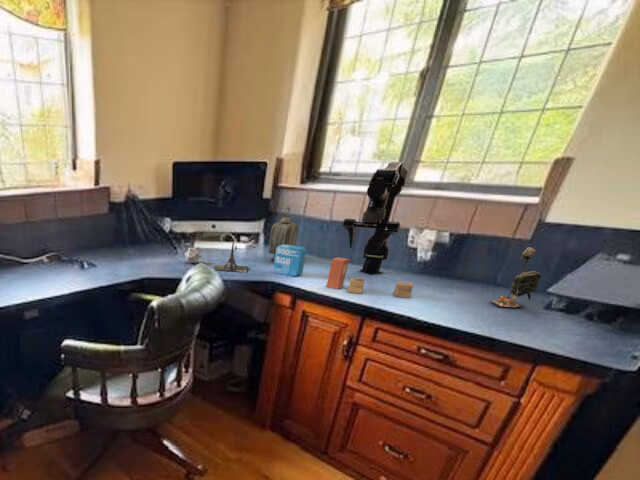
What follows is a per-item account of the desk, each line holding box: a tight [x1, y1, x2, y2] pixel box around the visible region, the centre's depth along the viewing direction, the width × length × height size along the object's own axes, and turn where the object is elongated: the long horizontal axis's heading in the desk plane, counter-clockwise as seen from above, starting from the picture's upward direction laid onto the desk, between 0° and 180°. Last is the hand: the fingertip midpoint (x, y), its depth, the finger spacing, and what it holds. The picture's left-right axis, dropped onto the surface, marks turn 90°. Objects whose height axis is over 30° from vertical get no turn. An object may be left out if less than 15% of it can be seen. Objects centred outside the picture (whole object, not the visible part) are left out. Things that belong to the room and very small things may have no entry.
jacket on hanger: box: [268, 206, 299, 262], centre depth 206 cm, size 14×9×25 cm, turn 144°
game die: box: [182, 246, 202, 265], centre depth 209 cm, size 9×8×10 cm
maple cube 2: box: [393, 280, 414, 299], centre depth 157 cm, size 5×5×5 cm
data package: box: [272, 244, 307, 277], centre depth 186 cm, size 12×4×12 cm, turn 42°
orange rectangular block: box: [326, 257, 350, 290], centre depth 167 cm, size 5×5×11 cm
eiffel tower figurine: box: [213, 241, 249, 274], centre depth 196 cm, size 15×10×13 cm
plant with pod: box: [491, 246, 542, 308], centre depth 141 cm, size 8×11×20 cm
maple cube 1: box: [347, 277, 365, 294], centre depth 162 cm, size 5×5×5 cm
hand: (363, 249), depth 158 cm, fingers open, 9 cm apart
